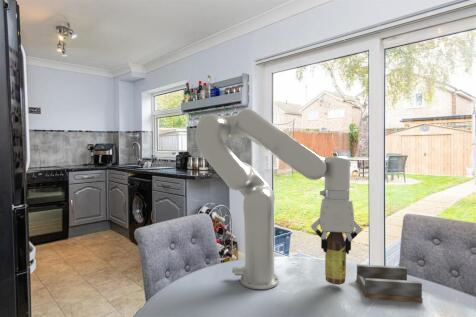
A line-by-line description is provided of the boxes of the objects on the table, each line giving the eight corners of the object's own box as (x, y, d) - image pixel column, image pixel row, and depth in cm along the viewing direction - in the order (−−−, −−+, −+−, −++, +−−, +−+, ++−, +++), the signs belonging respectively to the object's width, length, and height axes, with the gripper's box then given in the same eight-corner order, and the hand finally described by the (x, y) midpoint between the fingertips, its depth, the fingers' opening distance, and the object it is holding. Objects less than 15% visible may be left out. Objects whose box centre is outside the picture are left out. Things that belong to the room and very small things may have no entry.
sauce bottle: (347, 286, 93) (348, 221, 93) (325, 284, 95) (327, 220, 94) (344, 278, 100) (345, 217, 99) (324, 276, 101) (325, 216, 101)
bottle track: (366, 298, 89) (366, 280, 89) (356, 279, 103) (356, 263, 103) (422, 302, 86) (422, 284, 86) (404, 282, 100) (404, 266, 100)
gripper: (309, 195, 95) (308, 253, 95) (368, 197, 92) (367, 257, 92) (308, 192, 102) (307, 246, 102) (362, 194, 99) (361, 250, 99)
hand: (335, 251), depth 97 cm, fingers closed on sauce bottle, 6 cm apart
